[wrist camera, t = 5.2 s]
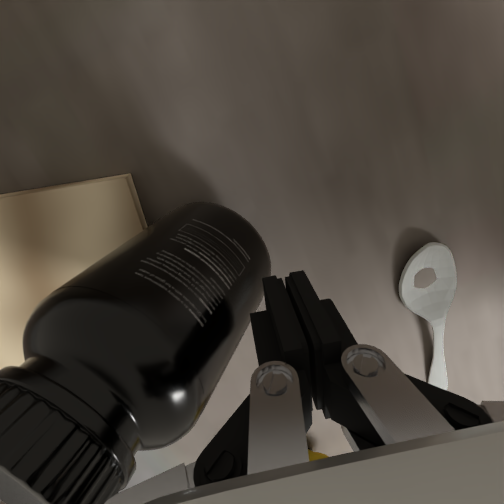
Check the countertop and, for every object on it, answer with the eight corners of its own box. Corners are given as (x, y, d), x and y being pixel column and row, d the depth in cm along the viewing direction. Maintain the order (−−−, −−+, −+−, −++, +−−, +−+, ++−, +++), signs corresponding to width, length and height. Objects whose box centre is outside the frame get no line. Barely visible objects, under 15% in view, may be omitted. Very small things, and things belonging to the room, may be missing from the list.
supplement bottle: (144, 217, 18) (-143, 389, 8) (243, 180, 15) (-39, 398, 5) (197, 311, 20) (23, 534, 10) (293, 298, 17) (169, 606, 7)
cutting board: (130, 173, 16) (125, 177, 15) (181, 330, 21) (179, 341, 20) (-102, 211, 16) (-120, 217, 15) (6, 362, 21) (-3, 374, 20)
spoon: (446, 222, 20) (464, 232, 19) (459, 406, 30) (471, 422, 28) (386, 245, 21) (399, 257, 19) (417, 420, 30) (428, 437, 28)
